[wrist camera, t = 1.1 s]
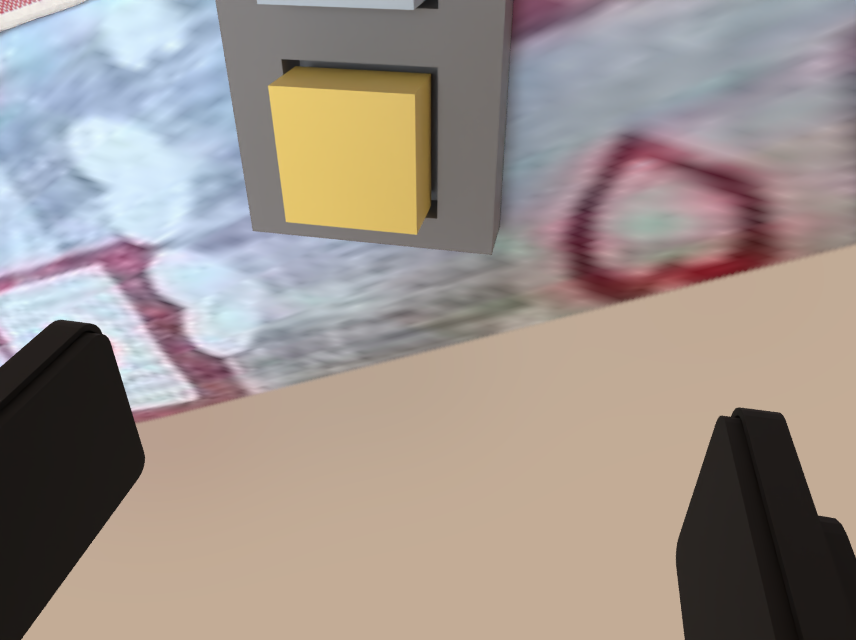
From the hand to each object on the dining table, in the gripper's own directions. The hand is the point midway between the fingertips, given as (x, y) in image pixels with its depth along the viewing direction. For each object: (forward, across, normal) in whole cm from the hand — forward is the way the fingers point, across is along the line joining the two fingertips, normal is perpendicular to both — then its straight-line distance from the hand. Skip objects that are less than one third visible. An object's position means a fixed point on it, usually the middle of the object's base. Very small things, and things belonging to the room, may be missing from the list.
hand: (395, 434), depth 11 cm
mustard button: (+22, +7, +3) cm, 23 cm away
